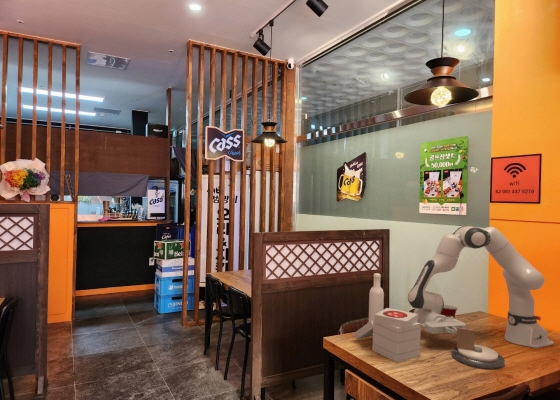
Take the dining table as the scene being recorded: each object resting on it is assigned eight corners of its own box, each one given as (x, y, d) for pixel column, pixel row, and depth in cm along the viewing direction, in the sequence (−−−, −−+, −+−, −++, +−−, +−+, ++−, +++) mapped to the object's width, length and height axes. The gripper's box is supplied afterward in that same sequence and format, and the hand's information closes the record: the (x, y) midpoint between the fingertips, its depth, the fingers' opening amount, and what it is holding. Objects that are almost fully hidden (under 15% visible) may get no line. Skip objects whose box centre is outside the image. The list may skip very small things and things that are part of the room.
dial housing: (479, 348, 184) (479, 344, 184) (516, 367, 163) (516, 362, 163) (441, 351, 179) (442, 346, 179) (474, 371, 158) (474, 366, 158)
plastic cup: (458, 326, 217) (459, 305, 217) (455, 331, 208) (456, 309, 208) (438, 322, 223) (438, 302, 223) (434, 327, 214) (435, 306, 214)
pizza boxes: (377, 335, 198) (378, 301, 198) (426, 357, 172) (427, 317, 172) (349, 342, 188) (350, 305, 188) (397, 365, 162) (398, 323, 162)
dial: (494, 350, 176) (495, 328, 176) (500, 364, 161) (501, 339, 161) (455, 345, 182) (456, 323, 182) (457, 357, 167) (458, 333, 167)
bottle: (366, 325, 213) (367, 272, 214) (380, 325, 214) (381, 272, 214) (371, 330, 205) (372, 275, 206) (385, 330, 206) (386, 275, 206)
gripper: (419, 317, 189) (436, 326, 175) (454, 316, 194) (474, 324, 180) (418, 330, 189) (436, 340, 175) (454, 328, 194) (474, 338, 180)
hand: (456, 332), depth 178 cm, fingers closed
